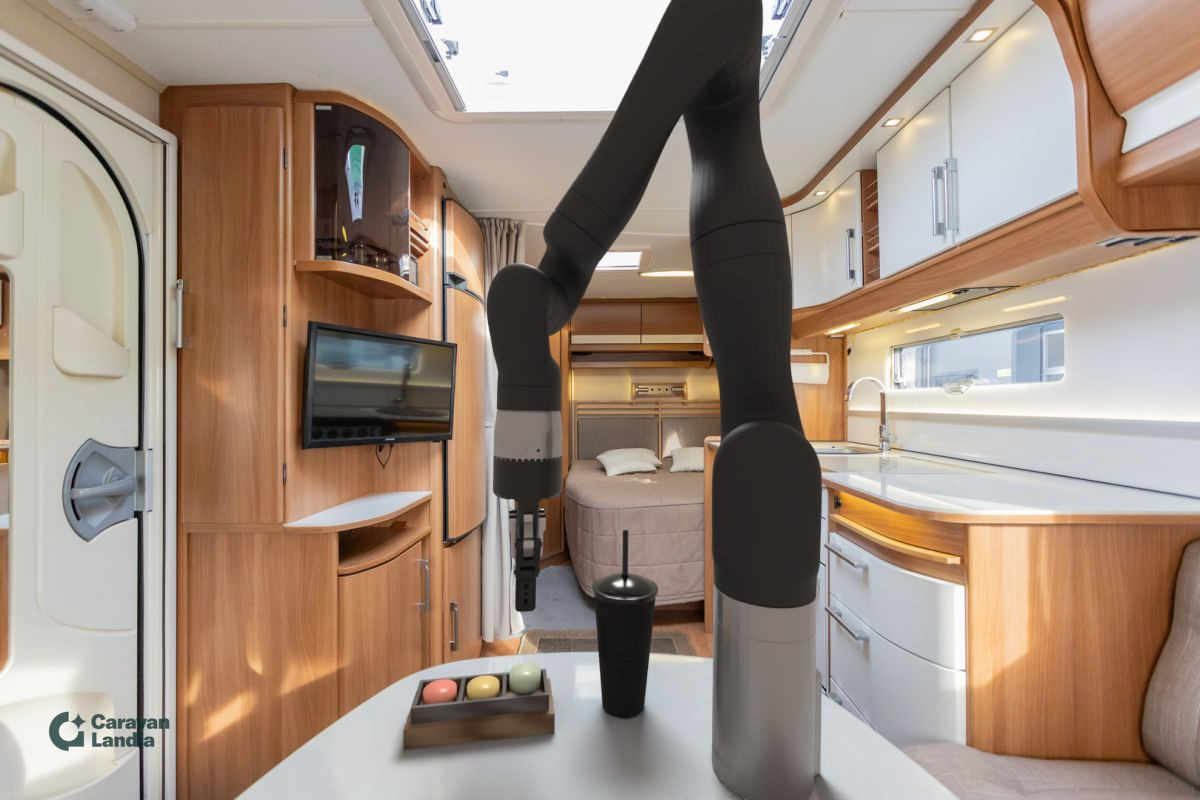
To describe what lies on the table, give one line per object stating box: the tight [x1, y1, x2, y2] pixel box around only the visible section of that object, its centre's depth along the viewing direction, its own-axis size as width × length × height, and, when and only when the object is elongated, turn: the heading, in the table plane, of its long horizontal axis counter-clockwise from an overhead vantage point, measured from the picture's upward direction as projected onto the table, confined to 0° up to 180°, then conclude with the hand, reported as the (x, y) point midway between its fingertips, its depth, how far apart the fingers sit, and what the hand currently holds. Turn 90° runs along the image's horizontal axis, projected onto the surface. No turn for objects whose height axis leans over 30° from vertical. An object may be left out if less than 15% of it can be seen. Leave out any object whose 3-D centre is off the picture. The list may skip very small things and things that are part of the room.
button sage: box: [509, 662, 542, 695], centre depth 52 cm, size 3×3×2 cm
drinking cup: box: [591, 529, 659, 720], centre depth 54 cm, size 8×8×20 cm
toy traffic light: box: [402, 668, 556, 751], centre depth 52 cm, size 15×6×4 cm, turn 101°
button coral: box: [423, 679, 457, 705], centre depth 51 cm, size 3×3×2 cm
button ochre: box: [467, 675, 499, 700], centre depth 52 cm, size 3×3×2 cm
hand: (525, 608), depth 52 cm, fingers closed
